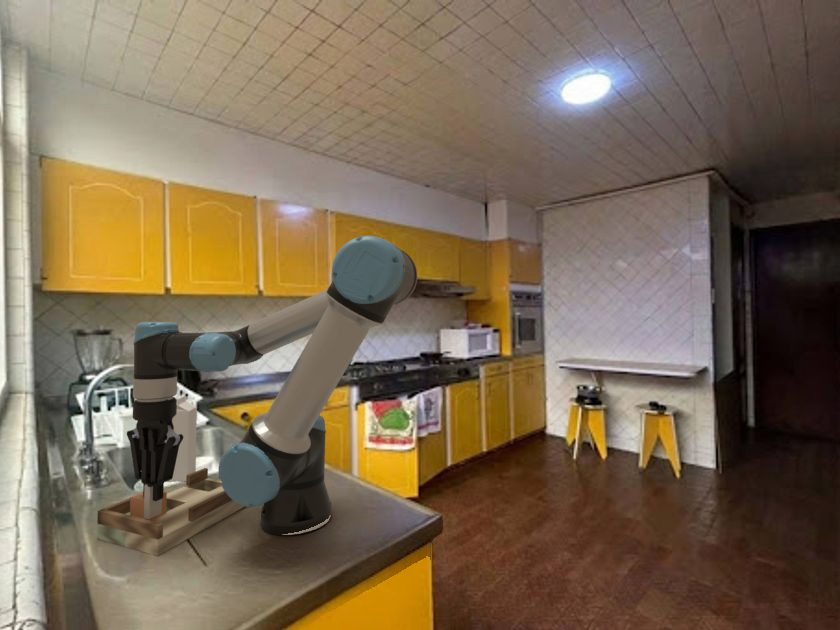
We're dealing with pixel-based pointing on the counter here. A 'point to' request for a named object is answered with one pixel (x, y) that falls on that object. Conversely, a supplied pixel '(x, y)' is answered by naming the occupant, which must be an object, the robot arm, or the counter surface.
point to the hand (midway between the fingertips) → (152, 515)
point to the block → (138, 506)
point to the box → (168, 516)
